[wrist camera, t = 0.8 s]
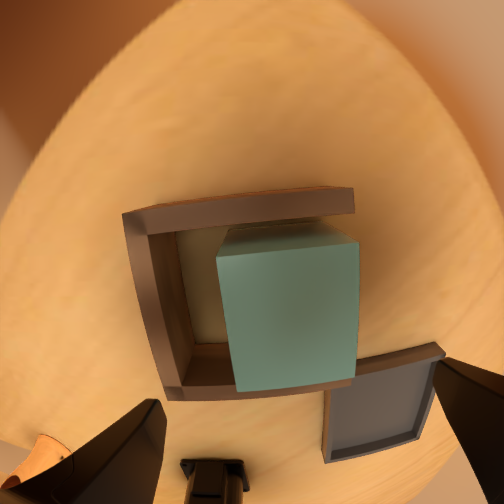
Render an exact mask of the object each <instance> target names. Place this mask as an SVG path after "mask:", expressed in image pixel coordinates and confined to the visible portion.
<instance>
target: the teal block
mask: <svg viewBox="0 0 504 504" xmlns="http://www.w3.org/2000/svg"><path fill="white" fill-rule="evenodd" d="M216 263H217V270H218V277H219V284H220V291H221V297H222V304H223V311H224V317H225V323H226V330H227V336H228V342H229V348H230V354H231V360H232V366H233V371H234V377H235V383H236V388H237V392H247V391H260V390H271V389H281V388H289V387H298V386H305V385H312V384H319V383H325V382H331V381H337V380H343V379H348V378H353V377H355V369H356V357H357V342H358V324H359V295H360V248H359V242H358V241H356V240H354V239H353V238H351V237H349V236H348V235H346V234H344V233H342V232H341V231H339V230H337V229H336V228H334V227H332V226H330V225H329V224H327V223H325V222H323V221H316V222H305V223H294V224H284V225H273V226H264V227H254V228H244V229H235V230H228V233H227V235H226V237H225V239H224V241H223V243H222V245H221V247H220V249H219V251H218V253H217V256H216Z"/></svg>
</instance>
